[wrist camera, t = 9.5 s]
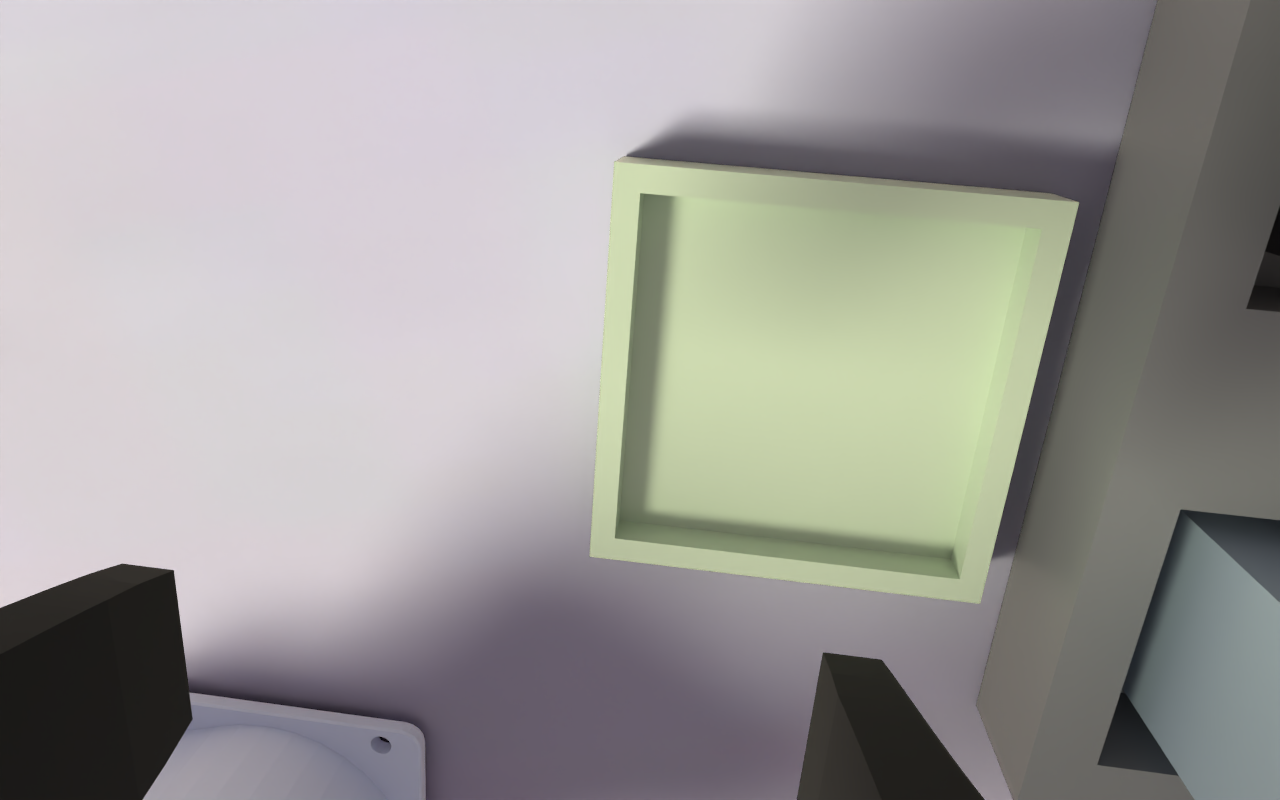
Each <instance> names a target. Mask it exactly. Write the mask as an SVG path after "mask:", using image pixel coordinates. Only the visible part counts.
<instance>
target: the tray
mask: <svg viewBox="0 0 1280 800" xmlns="http://www.w3.org/2000/svg"><path fill="white" fill-rule="evenodd" d="M1078 206H1079V202H1077V201H1074V200H1071V199H1067V198H1064V197H1061V196H1058V195H1055V194H1052V193H1042V192H1031V191H1019V190H1008V189H996V188H985V187H973V186H962V185H950V184H938V183H927V182H915V181H904V180H892V179H881V178H869V177H857V176H846V175H834V174H823V173H811V172H800V171H788V170H777V169H765V168H753V167H742V166H730V165H719V164H707V163H696V162H684V161H673V160H661V159H649V158H638V157H626V156H624V157H622V158H620V159H618V160H617V161H615V162H614V174H613V190H612V206H611V222H610V238H609V253H608V269H607V285H606V301H605V317H604V333H603V349H602V365H601V381H600V397H599V412H598V428H597V444H596V460H595V476H594V492H593V508H592V524H591V540H590V556H589V557H596V558H604V559H613V560H621V561H629V562H638V563H646V564H654V565H662V566H671V567H679V568H687V569H695V570H704V571H712V572H720V573H729V574H737V575H745V576H753V577H762V578H770V579H778V580H786V581H795V582H803V583H811V584H820V585H828V586H836V587H844V588H853V589H861V590H869V591H877V592H886V593H894V594H902V595H911V596H919V597H927V598H935V599H944V600H952V601H960V602H968V603H977V604H980V602H981V598H982V594H983V590H984V586H985V582H986V578H987V574H988V570H989V566H990V562H991V558H992V554H993V550H994V546H995V542H996V537H997V533H998V529H999V525H1000V521H1001V517H1002V513H1003V509H1004V505H1005V501H1006V497H1007V493H1008V489H1009V485H1010V481H1011V477H1012V473H1013V469H1014V465H1015V461H1016V457H1017V452H1018V448H1019V444H1020V440H1021V436H1022V432H1023V428H1024V424H1025V420H1026V416H1027V412H1028V408H1029V404H1030V400H1031V396H1032V392H1033V388H1034V384H1035V380H1036V376H1037V372H1038V367H1039V363H1040V359H1041V355H1042V351H1043V347H1044V343H1045V339H1046V335H1047V331H1048V327H1049V323H1050V319H1051V315H1052V311H1053V307H1054V303H1055V299H1056V295H1057V291H1058V287H1059V283H1060V278H1061V274H1062V270H1063V266H1064V262H1065V258H1066V254H1067V250H1068V246H1069V242H1070V238H1071V234H1072V230H1073V226H1074V222H1075V218H1076V214H1077V210H1078Z"/></svg>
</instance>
